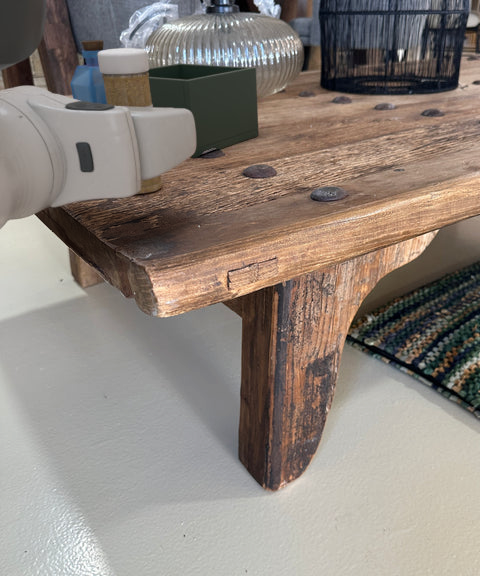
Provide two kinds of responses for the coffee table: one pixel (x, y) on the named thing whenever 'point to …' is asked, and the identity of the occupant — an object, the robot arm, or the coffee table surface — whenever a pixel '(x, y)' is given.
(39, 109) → the robot arm
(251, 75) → the square planter pot
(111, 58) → the sprinkles bottle
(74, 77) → the perfume bottle
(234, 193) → the coffee table surface
